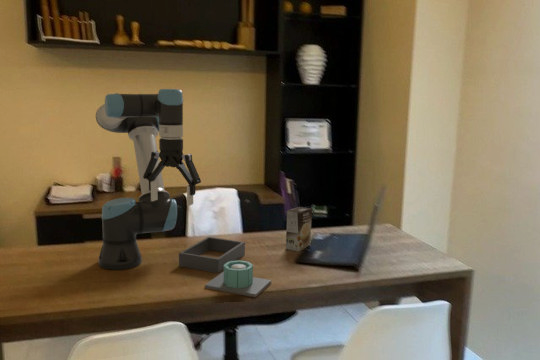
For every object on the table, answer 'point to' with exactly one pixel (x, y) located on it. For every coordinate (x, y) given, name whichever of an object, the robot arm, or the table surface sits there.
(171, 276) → the table surface
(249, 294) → the stand
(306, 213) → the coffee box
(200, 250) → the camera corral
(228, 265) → the collar
